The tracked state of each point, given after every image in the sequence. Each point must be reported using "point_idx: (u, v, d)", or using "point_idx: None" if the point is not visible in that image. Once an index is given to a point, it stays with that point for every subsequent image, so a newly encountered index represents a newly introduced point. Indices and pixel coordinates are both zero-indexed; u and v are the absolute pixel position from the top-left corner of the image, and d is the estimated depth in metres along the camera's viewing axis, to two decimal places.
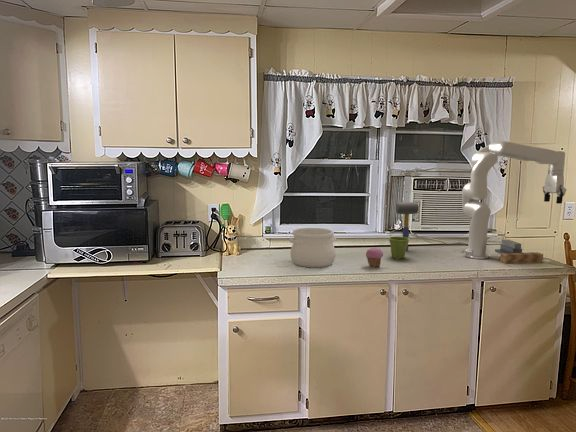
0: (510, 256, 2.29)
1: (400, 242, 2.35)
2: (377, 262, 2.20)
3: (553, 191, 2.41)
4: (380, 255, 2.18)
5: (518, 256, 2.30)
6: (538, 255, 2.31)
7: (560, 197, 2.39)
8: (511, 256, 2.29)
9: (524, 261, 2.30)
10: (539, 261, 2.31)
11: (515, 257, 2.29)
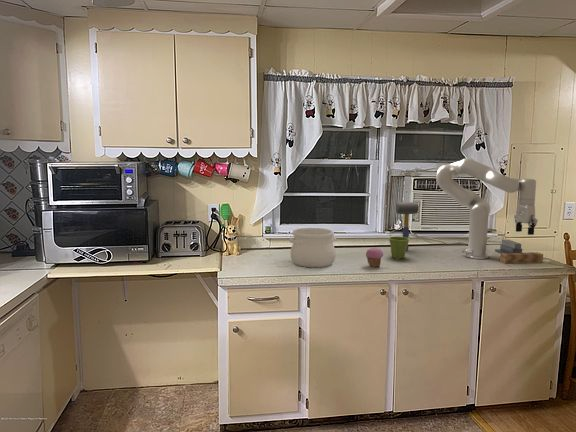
0: (510, 256, 2.29)
1: (400, 242, 2.35)
2: (377, 262, 2.20)
3: (524, 221, 2.26)
4: (380, 255, 2.18)
5: (518, 256, 2.30)
6: (538, 255, 2.31)
7: (531, 228, 2.24)
8: (511, 256, 2.29)
9: (524, 261, 2.30)
10: (539, 261, 2.31)
11: (515, 257, 2.29)
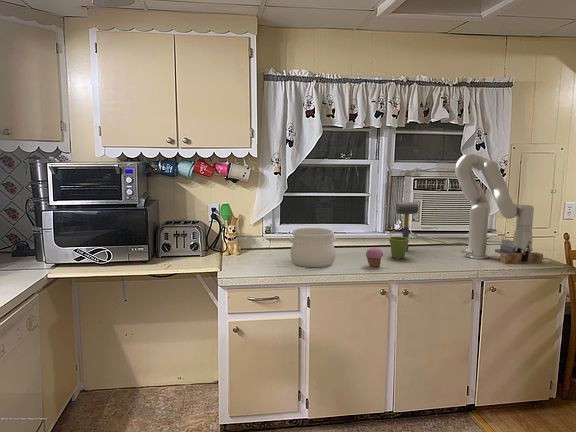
0: (510, 256, 2.29)
1: (400, 242, 2.35)
2: (377, 262, 2.20)
3: (521, 247, 2.28)
4: (380, 255, 2.18)
5: (518, 256, 2.30)
6: (538, 255, 2.31)
7: (525, 255, 2.28)
8: (511, 256, 2.29)
9: None
10: (539, 261, 2.31)
11: (515, 257, 2.29)
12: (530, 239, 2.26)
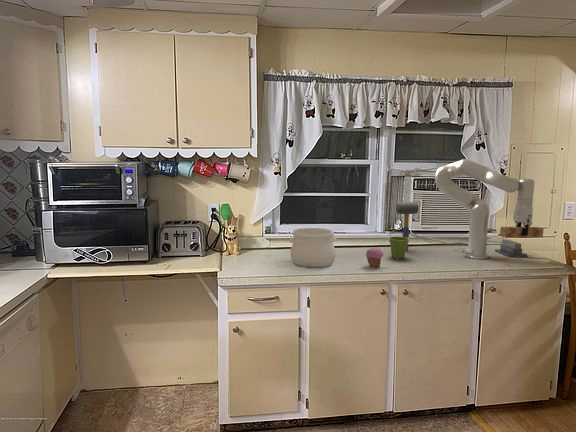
0: (510, 229, 2.30)
1: (400, 242, 2.35)
2: (377, 262, 2.20)
3: (521, 221, 2.29)
4: (380, 255, 2.18)
5: (518, 230, 2.30)
6: (538, 229, 2.31)
7: (525, 229, 2.29)
8: (511, 229, 2.30)
9: (524, 235, 2.31)
10: (539, 235, 2.32)
11: (515, 230, 2.30)
12: (530, 213, 2.26)
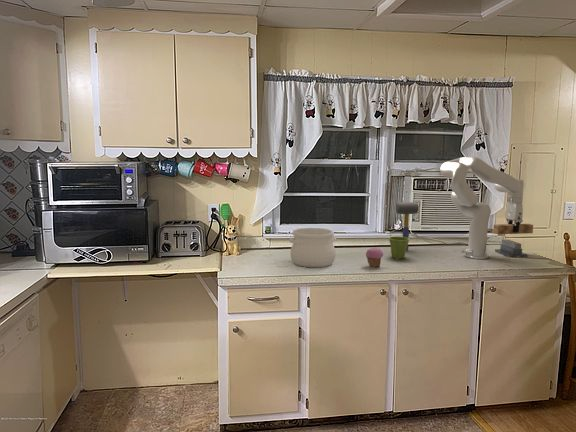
0: (502, 227, 2.46)
1: (400, 242, 2.35)
2: (377, 262, 2.20)
3: (512, 219, 2.45)
4: (380, 255, 2.18)
5: (510, 227, 2.46)
6: (528, 226, 2.47)
7: (516, 226, 2.45)
8: (503, 227, 2.46)
9: None
10: (529, 231, 2.48)
11: (507, 228, 2.46)
12: (520, 211, 2.43)
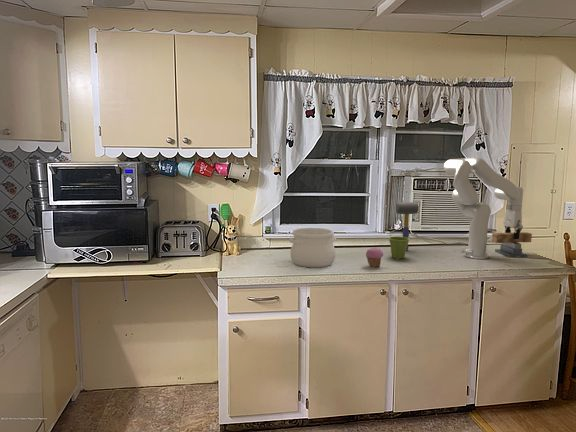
0: (501, 235, 2.46)
1: (400, 242, 2.35)
2: (377, 262, 2.20)
3: (511, 226, 2.45)
4: (380, 255, 2.18)
5: (508, 235, 2.47)
6: (527, 234, 2.48)
7: (517, 233, 2.44)
8: (502, 235, 2.46)
9: (514, 240, 2.48)
10: (528, 240, 2.49)
11: (506, 236, 2.47)
12: (520, 218, 2.43)
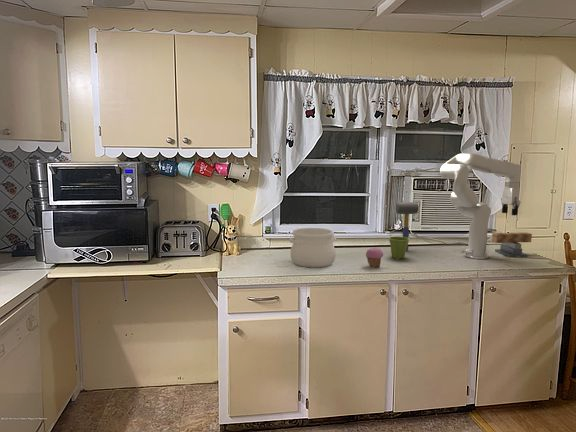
0: (501, 235, 2.46)
1: (400, 242, 2.35)
2: (377, 262, 2.20)
3: (509, 203, 2.46)
4: (380, 255, 2.18)
5: (508, 235, 2.47)
6: (527, 235, 2.48)
7: (515, 209, 2.44)
8: (502, 235, 2.46)
9: (514, 240, 2.48)
10: (528, 240, 2.49)
11: (506, 236, 2.47)
12: (517, 195, 2.44)
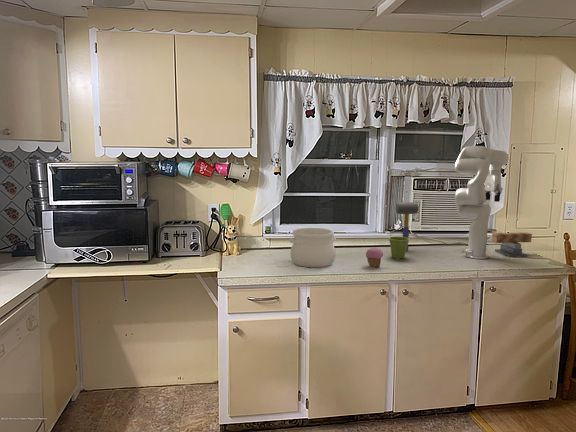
0: (501, 235, 2.46)
1: (400, 242, 2.35)
2: (377, 262, 2.20)
3: (491, 190, 2.58)
4: (380, 255, 2.18)
5: (508, 235, 2.47)
6: (527, 235, 2.48)
7: (497, 195, 2.56)
8: (502, 235, 2.46)
9: (514, 240, 2.48)
10: (528, 240, 2.49)
11: (506, 236, 2.47)
12: (499, 182, 2.56)
